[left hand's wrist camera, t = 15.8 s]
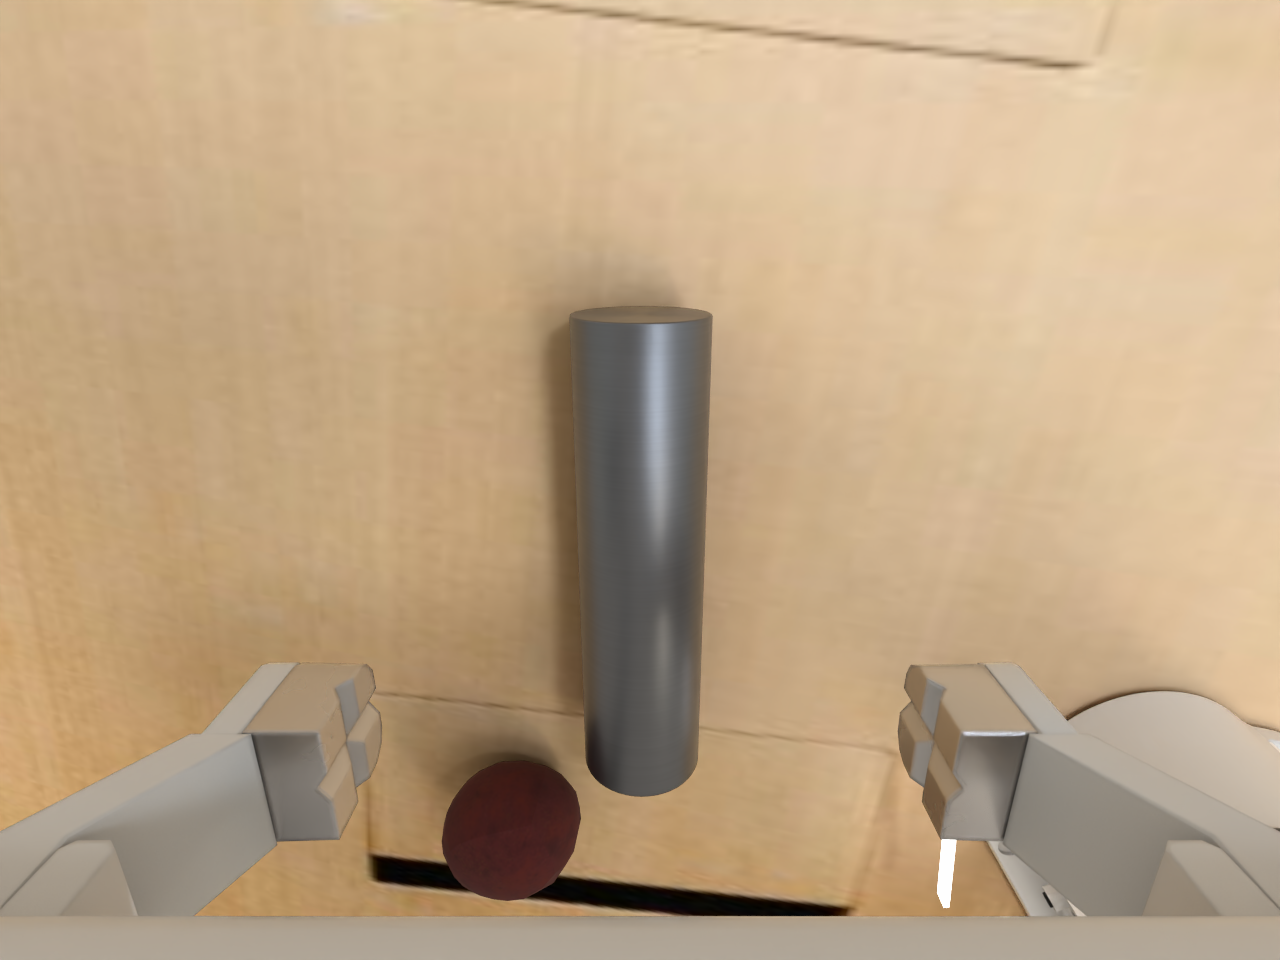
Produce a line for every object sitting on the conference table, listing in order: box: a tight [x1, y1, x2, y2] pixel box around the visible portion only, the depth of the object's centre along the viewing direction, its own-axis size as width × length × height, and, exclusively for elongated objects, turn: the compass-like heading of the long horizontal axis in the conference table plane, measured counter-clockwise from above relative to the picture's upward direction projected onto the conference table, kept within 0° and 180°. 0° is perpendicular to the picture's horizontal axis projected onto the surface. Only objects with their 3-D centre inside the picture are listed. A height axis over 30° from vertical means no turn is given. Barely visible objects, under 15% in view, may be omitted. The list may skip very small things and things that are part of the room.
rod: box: [569, 306, 712, 797], centre depth 34 cm, size 24×6×6 cm, turn 0°
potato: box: [442, 761, 581, 901], centre depth 39 cm, size 7×8×7 cm
